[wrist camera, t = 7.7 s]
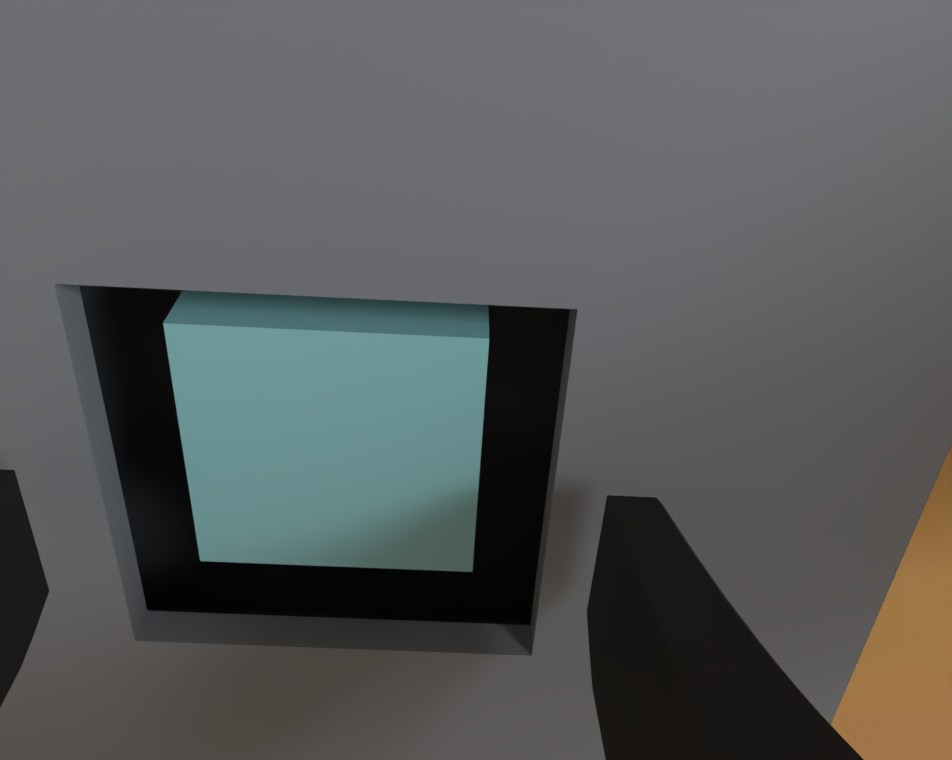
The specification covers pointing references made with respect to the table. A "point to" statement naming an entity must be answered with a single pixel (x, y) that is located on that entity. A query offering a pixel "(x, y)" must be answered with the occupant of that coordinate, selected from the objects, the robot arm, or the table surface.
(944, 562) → the table surface
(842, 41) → the gray slotted box
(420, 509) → the teal rectangular block
